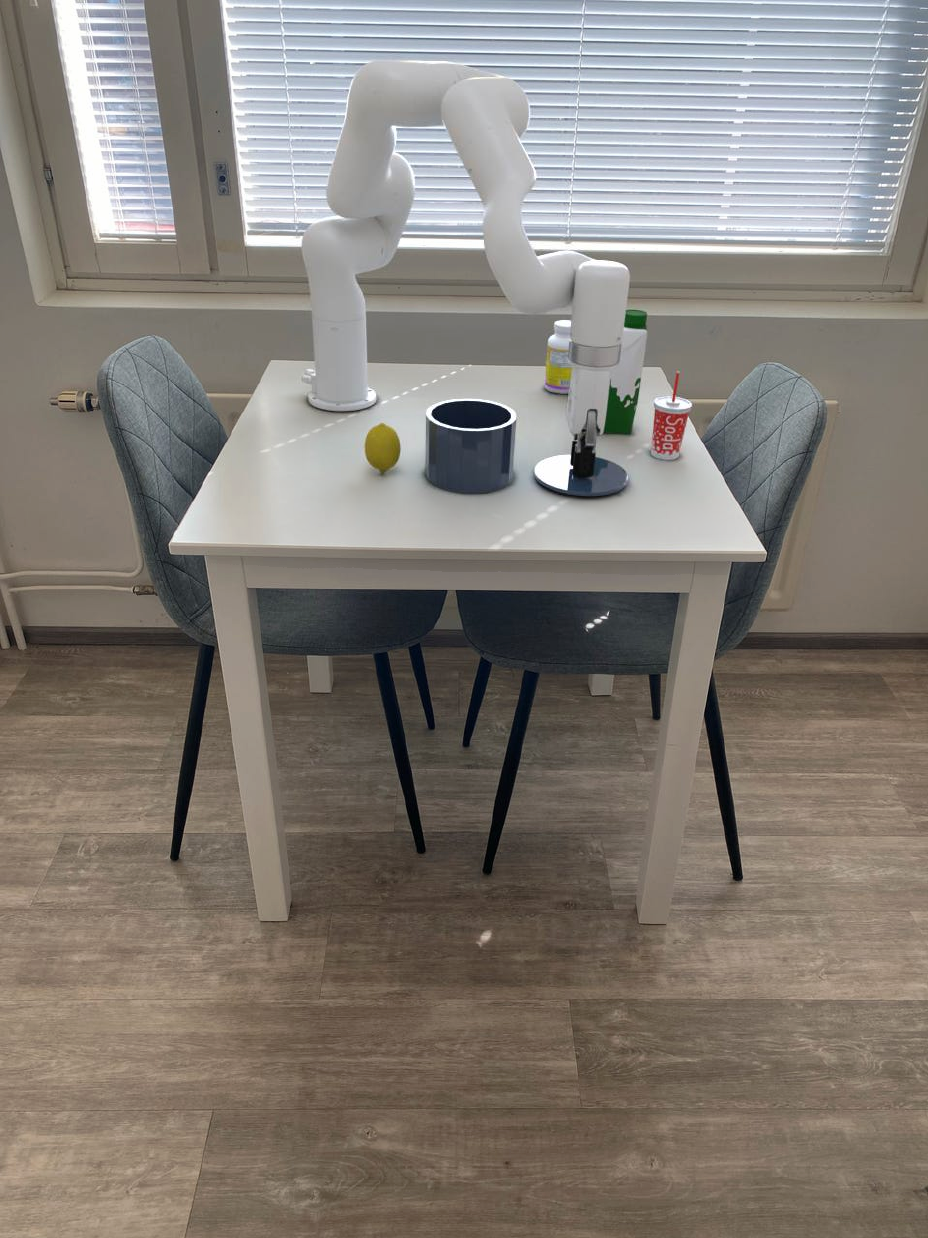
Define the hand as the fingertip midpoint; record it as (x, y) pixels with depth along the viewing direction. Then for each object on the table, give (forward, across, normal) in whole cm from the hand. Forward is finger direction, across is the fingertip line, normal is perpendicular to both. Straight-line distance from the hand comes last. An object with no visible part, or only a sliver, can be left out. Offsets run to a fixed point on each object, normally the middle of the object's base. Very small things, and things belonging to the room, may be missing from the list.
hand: (581, 469), depth 140 cm
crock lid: (+1, 0, 0) cm, 1 cm away
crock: (+2, 0, -18) cm, 18 cm away
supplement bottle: (+2, -43, 0) cm, 43 cm away
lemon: (+2, 0, -31) cm, 31 cm away
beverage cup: (+2, -12, +15) cm, 19 cm away
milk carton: (+2, -24, +7) cm, 25 cm away
